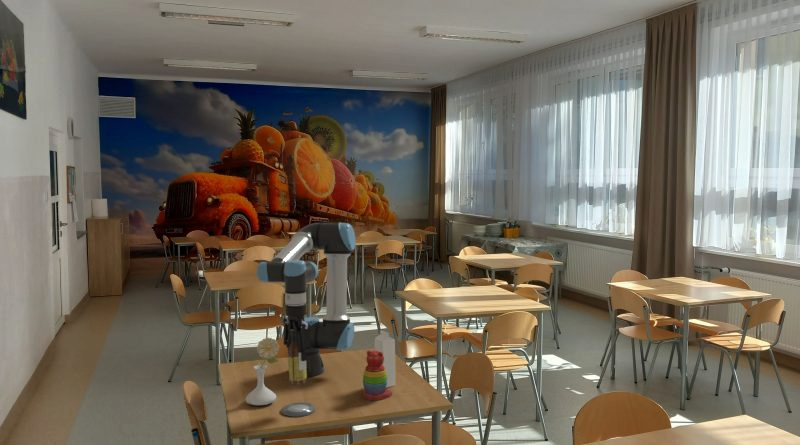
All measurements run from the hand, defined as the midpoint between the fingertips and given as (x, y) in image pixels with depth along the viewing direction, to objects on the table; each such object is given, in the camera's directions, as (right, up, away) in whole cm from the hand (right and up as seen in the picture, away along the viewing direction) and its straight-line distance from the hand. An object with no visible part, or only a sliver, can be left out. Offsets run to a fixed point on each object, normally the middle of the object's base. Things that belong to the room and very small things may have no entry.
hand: (297, 367), depth 230 cm
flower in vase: (-14, -16, +10) cm, 23 cm away
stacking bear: (+28, -15, +16) cm, 35 cm away
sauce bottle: (0, -6, 0) cm, 6 cm away
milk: (+31, -14, +28) cm, 44 cm away
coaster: (0, -16, +1) cm, 16 cm away
